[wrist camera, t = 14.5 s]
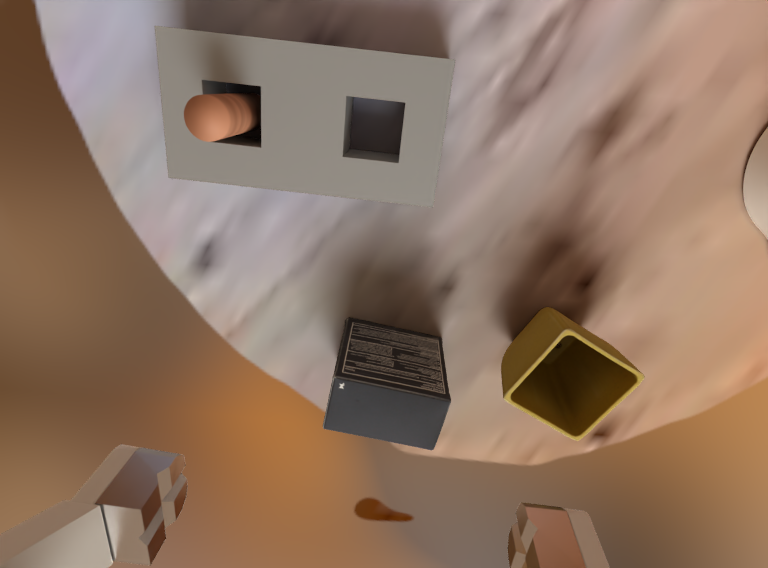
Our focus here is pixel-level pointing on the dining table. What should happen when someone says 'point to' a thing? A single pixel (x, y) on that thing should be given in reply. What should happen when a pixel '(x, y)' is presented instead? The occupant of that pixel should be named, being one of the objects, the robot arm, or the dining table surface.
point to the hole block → (305, 115)
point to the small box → (389, 385)
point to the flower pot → (565, 374)
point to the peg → (222, 115)
